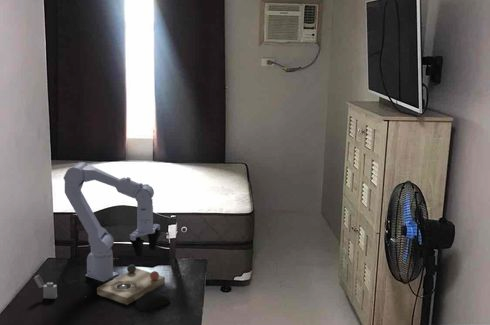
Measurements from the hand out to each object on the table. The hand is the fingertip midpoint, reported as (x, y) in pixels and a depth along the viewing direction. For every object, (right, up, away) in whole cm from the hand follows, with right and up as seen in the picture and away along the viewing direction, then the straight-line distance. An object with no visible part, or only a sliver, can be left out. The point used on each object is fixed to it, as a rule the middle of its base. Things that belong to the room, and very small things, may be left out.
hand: (145, 252), depth 196 cm
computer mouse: (+6, -15, -18) cm, 24 cm away
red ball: (+4, -7, -6) cm, 10 cm away
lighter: (-31, -13, -15) cm, 37 cm away
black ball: (-5, -6, 0) cm, 8 cm away
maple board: (-4, -12, -7) cm, 14 cm away
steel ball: (-6, -11, -12) cm, 17 cm away
